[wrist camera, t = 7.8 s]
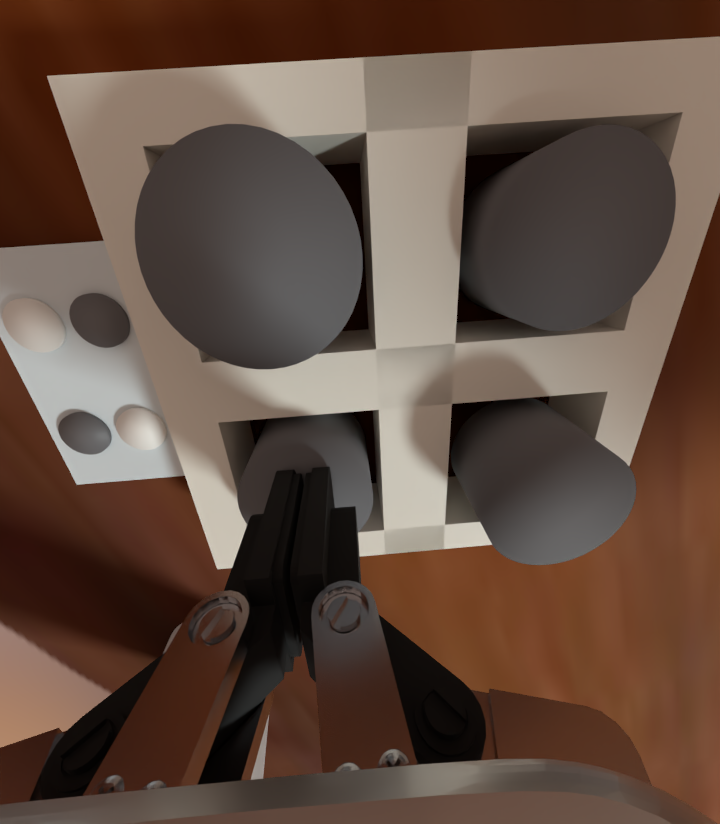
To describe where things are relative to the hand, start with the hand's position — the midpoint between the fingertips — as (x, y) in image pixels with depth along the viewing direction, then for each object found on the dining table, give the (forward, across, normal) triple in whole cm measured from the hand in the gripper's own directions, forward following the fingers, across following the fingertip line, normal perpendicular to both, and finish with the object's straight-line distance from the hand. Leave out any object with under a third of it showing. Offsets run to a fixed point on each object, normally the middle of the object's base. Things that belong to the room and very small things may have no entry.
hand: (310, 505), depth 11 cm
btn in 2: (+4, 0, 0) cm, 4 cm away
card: (+4, +8, -4) cm, 10 cm away
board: (+4, -4, -4) cm, 7 cm away
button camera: (+2, 0, -7) cm, 8 cm away
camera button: (+4, -7, -7) cm, 11 cm away
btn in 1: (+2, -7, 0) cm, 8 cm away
